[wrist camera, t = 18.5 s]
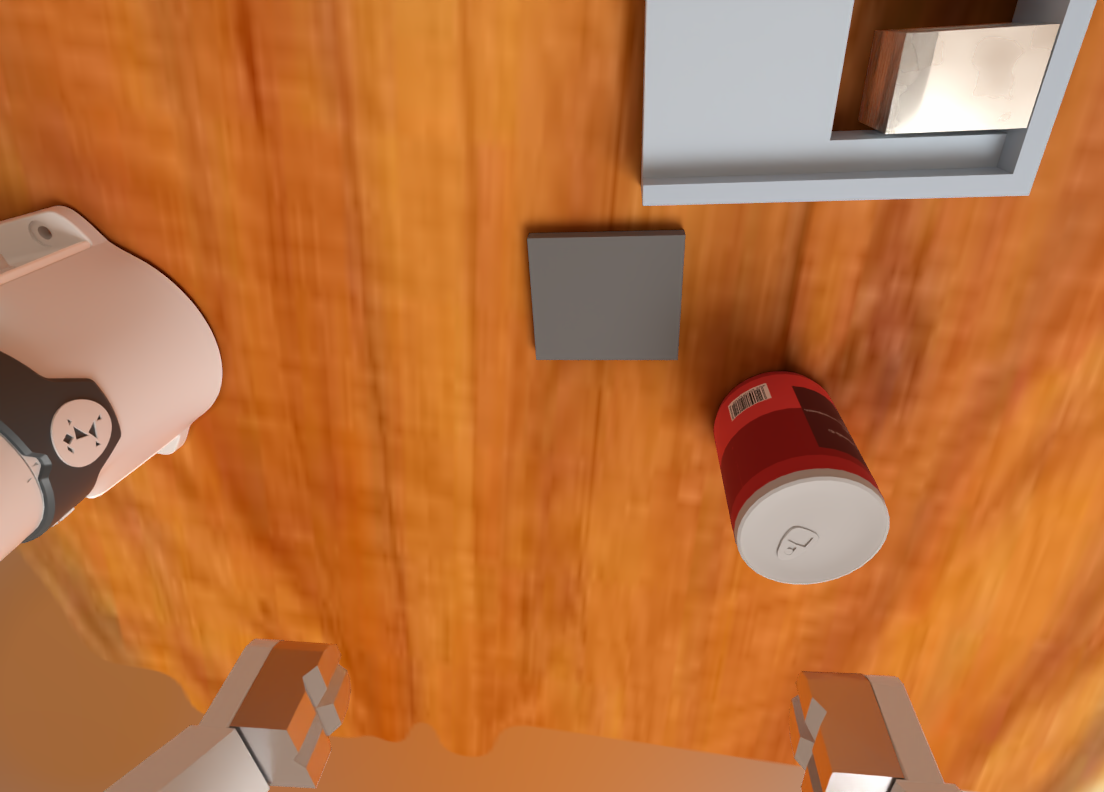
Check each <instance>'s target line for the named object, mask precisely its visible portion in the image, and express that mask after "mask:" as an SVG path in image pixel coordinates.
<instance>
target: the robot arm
mask: <svg viewBox="0 0 1104 792" xmlns="http://www.w3.org/2000/svg"><path fill="white" fill-rule="evenodd" d="M47 228H48V229H49V230H50V232H51V233H50V232H49V231H48V229H47ZM221 383H222V362H221V357H220V352H219V349H218V346H217V343H216V340H215V338H214V336H213V333H212V331H211V329H210V327H209V326H208V324H207V322H206V321H205V319H204V317H203V316H202V314H201V313H200V312H199V310H198V309H197V308H196V306H195V305H194V304H193V303H192V301H191V300H190V299H189V298H188V297H187V296H186V295H185V294H184V293H183V292H182V291H181V290H180V289H179V288H178V287H177V286H176V285H175V284H174V283H173V282H172V281H171V280H169V279H168V278H167V277H166V276H165V275H163V274H162V273H161V272H159V271H158V270H156V269H155V268H153V267H152V266H150V265H149V264H147V263H146V262H144V261H142V260H141V259H139V258H137V257H135V256H133V255H131V254H129V253H127V252H125V251H124V250H122V249H120V248H118V247H117V246H115V245H113V244H112V243H110V242H109V241H108V240H107V239H106V238H105V237H104V236H102V235H101V234H100V233H99V232H98V231H97V230H96V229H95V228H94V227H93V226H92V225H91V224H90V223H89V222H88V221H86V220H85V219H84V218H83V217H82V216H80V215H79V214H78V213H76V212H75V211H74V210H72V209H70V208H68V207H65V206H53V207H50V208H46V209H42V210H39V211H35V212H32V213H28V214H25V215H21V216H17V217H14V218H10V219H7V220H3V221H0V561H1V560H2V559H3V558H5V557H6V556H7V555H8V554H9V553H10V552H11V551H12V550H13V549H15V548H16V547H17V546H18V545H19V544H20V543H25V542H28V541H31V540H34V539H35V538H37V537H39V536H41V535H42V534H43V533H44V532H46V531H47V530H48V529H49V528H51V527H53V526H54V525H56V524H58V523H59V522H60V521H62V520H63V519H64V518H65V517H67V516H68V515H69V514H70V513H71V512H72V511H73V510H74V507H75V506H76V505H77V504H78V503H79V502H81V501H82V500H83V499H84V498H85V497H88V498H95V497H98V496H100V495H102V494H103V493H105V492H106V491H108V490H109V489H110V488H112V487H113V486H114V485H116V484H117V483H118V482H120V481H121V480H122V479H123V478H125V477H126V476H127V475H129V474H130V473H131V472H133V471H134V470H135V469H137V468H138V467H139V466H140V465H142V464H143V463H144V462H146V461H147V460H148V459H149V458H151V457H152V456H153V455H155V454H156V453H158V454H166V455H167V454H172V453H173V452H175V451H176V450H177V449H179V448H180V447H181V446H182V445H183V444H184V442H185V440H186V438H187V435H188V431H189V428H190V425H191V424H192V423H193V422H194V421H195V420H196V419H197V418H198V417H200V416H201V415H202V414H204V413H205V412H206V411H207V410H208V409H209V408H210V407H211V406H212V404H213V403H214V402H215V400H216V398H217V396H218V394H219V391H220V387H221ZM340 658H341V653H340V651H339V649H338V647H337V644H325V643H311V642H296V641H284V640H271V639H254V640H253V641H252V642H251V643H250V644H248V645H247V646H246V647H245V649H244V651H243V652H242V654H241V655H240V657H239V659H238V660H237V662H236V664H235V665H234V667H233V669H232V670H231V672H230V674H229V675H228V677H227V679H226V680H225V682H224V684H223V685H222V687H221V689H220V690H219V692H218V694H217V695H216V697H215V699H214V700H213V702H212V704H211V705H210V707H209V709H208V710H207V712H206V714H205V715H204V717H203V719H202V720H201V722H200V724H199V725H190V726H189V727H187V728H186V729H185V730H183V731H182V732H181V733H179V734H178V735H177V736H176V737H174V738H173V739H172V740H170V741H169V742H168V743H166V744H165V745H164V746H163V747H161V748H160V749H159V750H157V751H156V752H155V753H153V754H152V755H151V756H150V757H148V758H147V759H146V760H144V761H143V762H142V763H140V764H139V765H138V766H137V767H135V768H134V769H132V770H131V771H130V772H128V773H127V774H126V775H125V776H123V777H122V778H121V779H119V780H118V781H117V782H116V783H114V784H113V785H112V786H110V787H109V788H108V789H106V790H105V791H104V792H267V791H268V790H269V789H270V787H269V786H285V787H304V788H316V787H317V784H318V782H319V780H320V777H321V775H322V772H323V770H324V767H325V765H326V762H327V760H328V757H329V755H330V752H331V745H330V740H329V735H330V734H331V733H332V732H334V731H335V730H336V729H337V728H338V727H339V726H340V725H341V724H342V722H343V719H344V717H345V714H346V711H347V709H348V704H349V699H350V693H351V685H350V677H349V674H348V672H347V670H346V669H344V668H343V667H342V666H340V665H339V664H338V662H339V660H340ZM796 686H797V691H798V695H797V696H796V697H794V698H793V699H792V700H791V705H790V709H789V731H790V739H791V745H792V749H793V754H794V758H795V759H796V761H797V762H798V763H799V764H800V765H801V766H802V768H803V769H804V770H805V774H804V778H803V781H802V785H801V790H802V792H962V791H961V790H960V789H959V788H958V787H957V786H956V785H955V784H951V783H944V781H943V778H942V776H941V773H940V771H939V768H938V766H937V764H936V761H935V759H934V756H933V754H932V752H931V749H930V747H929V744H928V742H927V740H926V737H925V735H924V732H923V730H922V728H921V725H920V723H919V720H918V718H917V716H916V713H915V711H914V708H913V706H912V704H911V701H910V699H909V696H908V694H907V691H906V689H905V687H904V684H903V683H902V682H901V681H900V680H899V679H898V678H897V677H895V676H881V675H863V674H857V673H833V672H809V671H802V672H800V673H799V674H798V677H797V681H796Z"/></svg>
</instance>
